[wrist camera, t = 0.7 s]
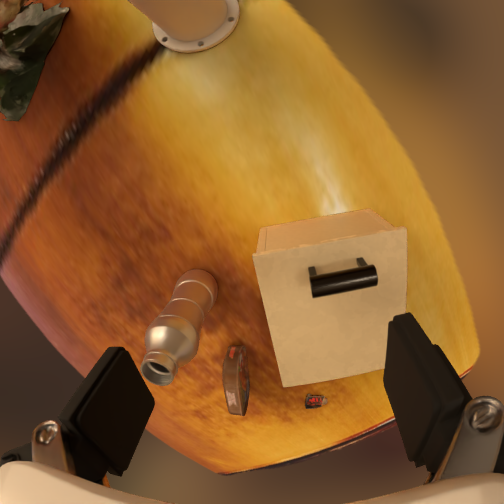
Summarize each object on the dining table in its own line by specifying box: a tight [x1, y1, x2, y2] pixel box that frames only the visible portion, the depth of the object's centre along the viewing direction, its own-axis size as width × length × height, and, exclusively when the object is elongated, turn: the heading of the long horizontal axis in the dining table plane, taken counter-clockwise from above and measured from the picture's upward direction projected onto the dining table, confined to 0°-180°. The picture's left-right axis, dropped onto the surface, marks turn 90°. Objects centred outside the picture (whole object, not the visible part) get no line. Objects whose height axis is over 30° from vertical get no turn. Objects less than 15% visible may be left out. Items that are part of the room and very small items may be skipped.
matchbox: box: [305, 394, 327, 409], centre depth 52 cm, size 5×5×1 cm
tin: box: [222, 345, 250, 416], centre depth 46 cm, size 15×3×8 cm, turn 3°
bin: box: [256, 208, 395, 253], centre depth 37 cm, size 18×16×12 cm
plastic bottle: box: [140, 269, 218, 386], centre depth 35 cm, size 6×7×20 cm
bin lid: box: [252, 226, 407, 387], centre depth 28 cm, size 19×16×5 cm
